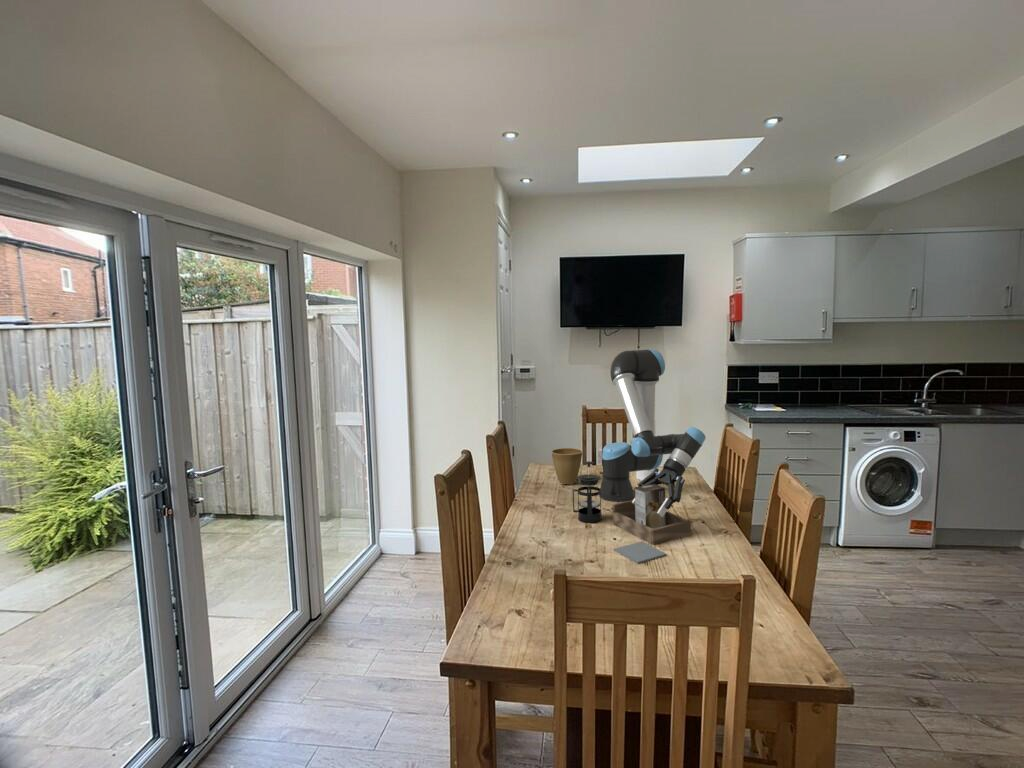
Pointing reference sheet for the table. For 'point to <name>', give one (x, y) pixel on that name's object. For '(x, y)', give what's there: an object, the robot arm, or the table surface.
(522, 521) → the table surface
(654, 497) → the coffee box
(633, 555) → the slate mat
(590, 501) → the french press
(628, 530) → the wooden tray
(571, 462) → the plant pot
